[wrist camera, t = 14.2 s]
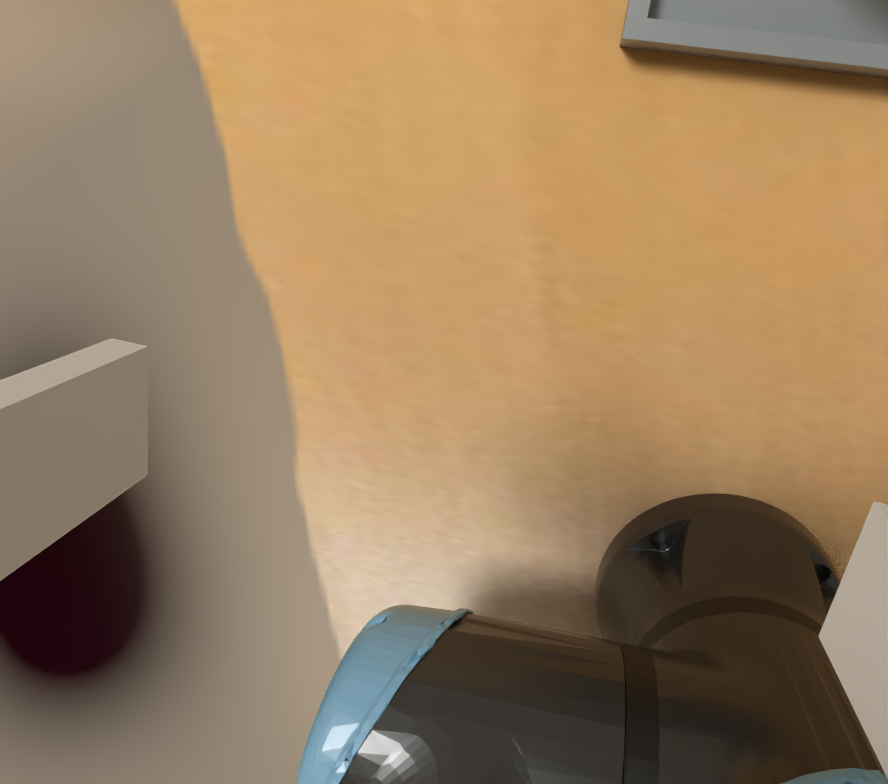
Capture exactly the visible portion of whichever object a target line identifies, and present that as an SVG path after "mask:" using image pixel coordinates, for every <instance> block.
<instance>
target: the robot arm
mask: <svg viewBox="0 0 888 784" xmlns="http://www.w3.org/2000/svg"><path fill="white" fill-rule="evenodd" d="M147 425H148V346H144V345H140V344H135V343H130V342H126V341H121V340H116V339H109V340H106V341H103V342H101V343H98V344H95V345H93V346H90V347H87V348H85V349H82V350H79V351H77V352H74V353H72V354H69V355H66V356H63V357H61V358H58V359H55V360H53V361H51V362H48V363H45V364H42V365H40V366H37V367H35V368H32V369H29V370H27V371H24V372H21V373H18V374H16V375H13V376H10V377H8V378H5V379H3V380H0V581H1V580H2V579H3V578H5V577H6V576H8V575H9V574H10V573H12V572H13V571H14V570H16V569H17V568H19V567H20V566H21V565H23V564H24V563H26V562H27V561H28V560H30V559H31V558H32V557H34V556H35V555H37V554H38V553H40V552H41V551H42V550H44V549H45V548H46V547H48V546H49V545H51V544H52V543H54V542H55V541H56V540H58V539H59V538H60V537H62V536H63V535H65V534H66V533H67V532H69V531H70V530H72V529H73V528H74V527H76V526H77V525H79V524H80V523H81V522H82V521H84V520H86V519H87V518H88V517H90V516H91V515H92V514H94V513H95V512H97V511H98V510H99V509H101V508H102V507H104V506H105V505H106V504H107V503H109V502H111V501H112V500H113V499H115V498H116V497H118V496H119V495H120V494H122V493H123V492H124V491H126V490H127V489H128V488H130V487H131V486H133V485H134V484H136V483H137V482H138V481H140V480H141V479H143V478H144V477H145V476H147V436H148V435H147V434H148V429H147V428H148V426H147ZM596 607H597V617H598V623H599V627H600V631H601V634H602V637H603V639H600V638H595V637H590V636H584V635H579V634H574V633H568V632H563V631H558V630H553V629H547V628H542V627H537V626H532V625H526V624H521V623H516V622H511V621H505V620H500V619H495V618H489V617H484V616H479V615H474V613H473V611H471V610H469V609H458V610H456V611H450V610H443V609H435V608H428V607H420V606H413V605H397V606H393V607H390V608H387V609H385V610H383V611H381V612H380V613H378V614H377V615H376V616H374V617H373V618H372V619H371V620H370V621H369V622H368V623H367V624H366V625H365V627H364V628H363V629H362V631H361V632H360V633H359V634H358V635H357V636H356V638H355V639H354V641H353V642H352V644H351V645H350V647H349V648H348V650H347V652H346V653H345V655H344V657H343V659H342V660H341V662H340V664H339V666H338V668H337V670H336V672H335V674H334V676H333V678H332V680H331V682H330V684H329V686H328V689H327V691H326V693H325V695H324V698H323V700H322V703H321V705H320V707H319V710H318V713H317V715H316V718H315V721H314V723H313V726H312V729H311V731H310V734H309V737H308V740H307V743H306V746H305V749H304V752H303V755H302V759H301V763H300V766H299V770H298V776H297V782H298V784H888V504H884V503H879V502H873V504H872V507H871V509H870V512H869V514H868V517H867V519H866V521H865V524H864V526H863V529H862V531H861V534H860V536H859V538H858V541H857V543H856V546H855V548H854V551H853V553H852V556H851V558H850V560H849V563H848V565H847V568H846V570H845V573H844V575H843V577H842V580H841V582H840V580H839V577H838V575H837V573H836V571H835V569H834V567H833V565H832V563H831V562H830V560H829V558H828V557H827V555H826V553H825V552H824V550H823V548H822V547H821V545H820V544H819V542H818V541H817V540H816V538H815V537H814V536H813V535H812V534H811V533H810V532H809V531H808V530H807V529H806V528H805V527H804V526H803V525H802V524H801V523H799V522H798V521H797V520H796V519H794V518H793V517H791V516H790V515H788V514H787V513H785V512H783V511H781V510H779V509H778V508H775V507H773V506H771V505H769V504H766V503H763V502H761V501H758V500H754V499H751V498H746V497H742V496H736V495H727V494H701V495H693V496H686V497H682V498H678V499H674V500H671V501H668V502H665V503H662V504H660V505H658V506H655V507H653V508H651V509H649V510H647V511H646V512H644V513H642V514H641V515H639V516H638V517H636V518H635V519H634V520H632V521H631V522H630V523H629V524H627V525H626V526H625V527H624V528H623V529H622V530H621V531H620V532H619V533H618V535H617V536H616V537H615V538H614V539H613V541H612V542H611V544H610V545H609V547H608V549H607V550H606V552H605V554H604V556H603V559H602V561H601V564H600V567H599V570H598V575H597V583H596Z"/></svg>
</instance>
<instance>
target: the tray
mask: <svg viewBox="0 0 888 784" xmlns="http://www.w3.org/2000/svg"><path fill="white" fill-rule="evenodd" d="M620 47H628V48H637V49H645V50H653V51H662V52H670V53H679V54H687V55H696V56H704V57H712V58H721V59H729V60H738V61H746V62H755V63H763V64H772V65H780V66H788V67H797V68H805V69H814V70H822V71H831V72H839V73H847V74H856V75H864V76H873V77H881V78H888V0H629V2H628V7H627V12H626V17H625V22H624V27H623V32H622V37H621V42H620Z"/></svg>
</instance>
